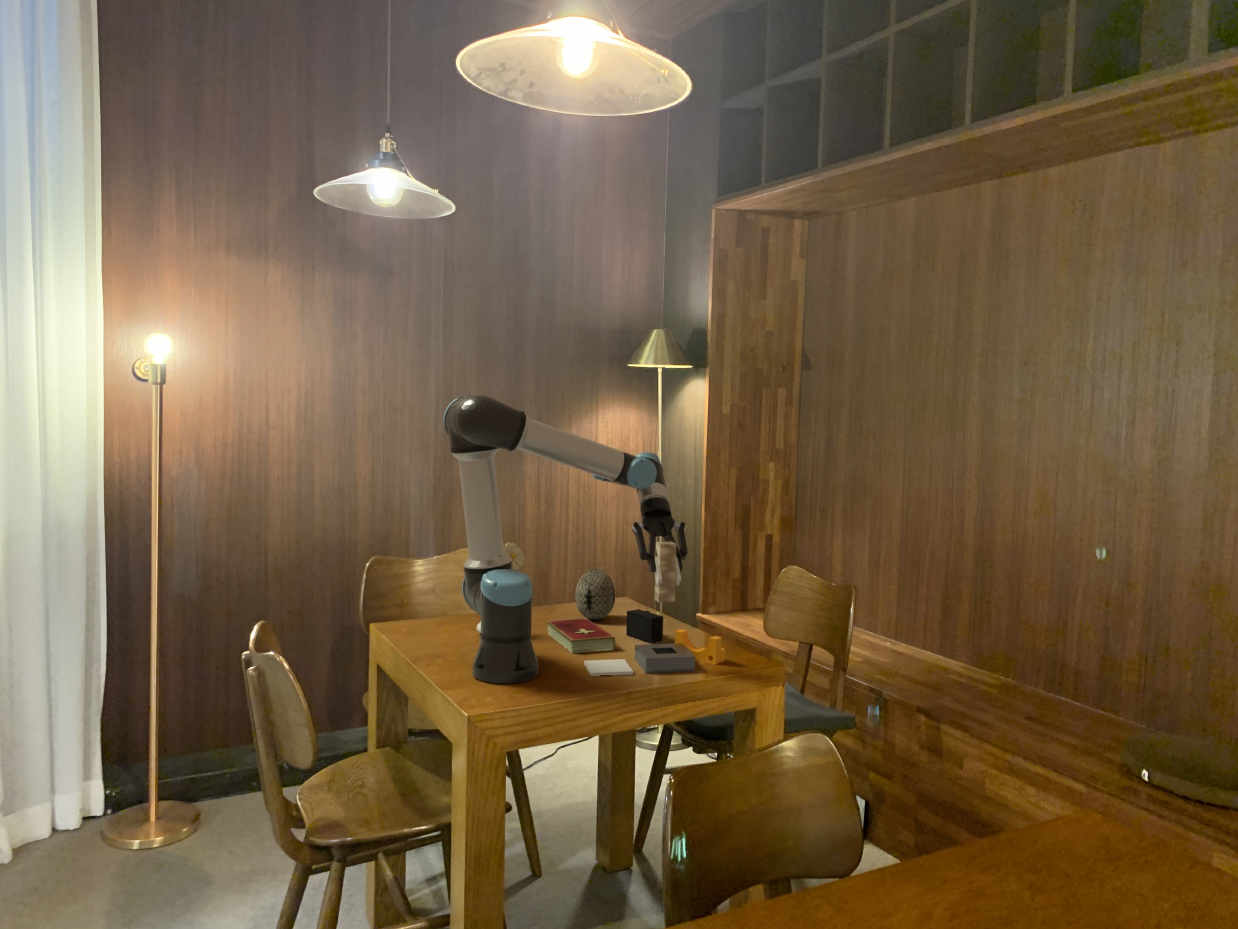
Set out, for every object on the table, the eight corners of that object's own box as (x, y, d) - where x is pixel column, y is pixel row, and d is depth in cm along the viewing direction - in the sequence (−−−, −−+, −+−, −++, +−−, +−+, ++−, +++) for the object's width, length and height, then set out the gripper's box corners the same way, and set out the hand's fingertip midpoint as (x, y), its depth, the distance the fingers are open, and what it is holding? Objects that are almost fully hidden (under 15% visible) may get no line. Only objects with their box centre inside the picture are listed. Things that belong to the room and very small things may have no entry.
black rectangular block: (666, 641, 240) (667, 615, 240) (651, 644, 237) (651, 618, 236) (641, 633, 248) (641, 608, 248) (626, 635, 245) (626, 610, 244)
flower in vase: (486, 641, 236) (487, 547, 234) (469, 631, 245) (470, 541, 243) (531, 635, 242) (532, 544, 241) (513, 626, 252) (514, 538, 250)
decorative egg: (619, 616, 266) (620, 566, 265) (607, 626, 255) (608, 573, 254) (582, 613, 269) (583, 563, 268) (568, 622, 258) (569, 570, 257)
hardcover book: (587, 631, 250) (587, 616, 249) (615, 651, 230) (615, 635, 230) (546, 635, 245) (546, 619, 245) (571, 655, 226) (571, 639, 226)
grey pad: (590, 676, 207) (591, 673, 207) (584, 663, 217) (584, 660, 217) (633, 674, 209) (633, 671, 209) (624, 662, 219) (624, 659, 219)
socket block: (645, 673, 211) (646, 658, 211) (634, 658, 222) (635, 644, 222) (694, 671, 213) (695, 656, 213) (681, 657, 225) (681, 643, 225)
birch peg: (658, 602, 214) (660, 544, 213) (654, 598, 218) (656, 541, 217) (674, 602, 215) (676, 544, 214) (670, 598, 219) (672, 541, 218)
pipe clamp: (724, 661, 222) (725, 635, 222) (715, 665, 219) (716, 639, 219) (683, 652, 230) (684, 627, 229) (674, 656, 226) (675, 631, 226)
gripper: (683, 514, 232) (700, 590, 217) (619, 514, 229) (631, 591, 214) (690, 495, 227) (707, 572, 212) (624, 495, 223) (636, 573, 208)
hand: (669, 582), depth 213 cm, fingers closed on birch peg, 4 cm apart
